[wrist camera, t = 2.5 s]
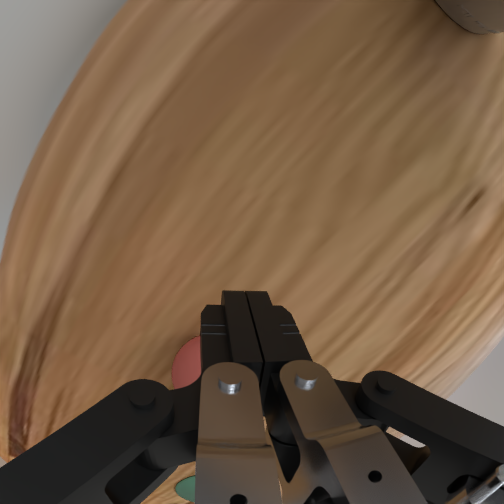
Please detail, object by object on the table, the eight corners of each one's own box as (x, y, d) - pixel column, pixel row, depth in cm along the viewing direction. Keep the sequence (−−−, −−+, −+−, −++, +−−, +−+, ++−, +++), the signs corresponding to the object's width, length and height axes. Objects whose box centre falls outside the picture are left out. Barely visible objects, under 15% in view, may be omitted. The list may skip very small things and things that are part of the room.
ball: (173, 315, 20) (167, 374, 15) (254, 318, 21) (269, 376, 16) (174, 371, 22) (172, 429, 17) (245, 373, 23) (256, 429, 18)
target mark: (171, 469, 29) (171, 471, 29) (286, 466, 32) (287, 467, 32) (178, 503, 35) (178, 504, 35) (268, 501, 37) (268, 502, 37)
